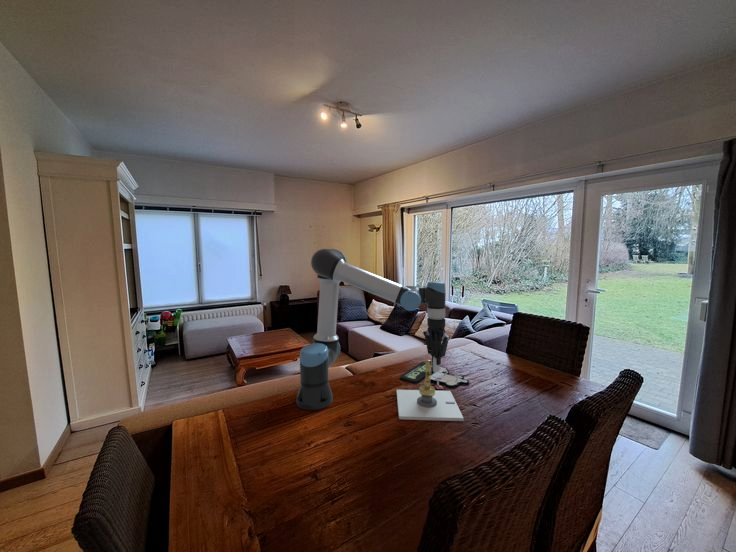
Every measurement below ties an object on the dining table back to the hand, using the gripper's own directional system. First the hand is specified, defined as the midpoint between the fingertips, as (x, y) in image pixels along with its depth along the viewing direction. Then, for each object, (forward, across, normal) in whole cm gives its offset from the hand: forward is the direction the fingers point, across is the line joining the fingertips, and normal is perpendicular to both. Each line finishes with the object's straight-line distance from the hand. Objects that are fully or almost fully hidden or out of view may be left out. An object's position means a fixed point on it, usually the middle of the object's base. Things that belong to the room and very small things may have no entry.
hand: (436, 371), depth 128 cm
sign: (+12, +12, -16) cm, 24 cm away
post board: (+12, -2, +8) cm, 14 cm away
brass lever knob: (+6, 0, +6) cm, 9 cm away
